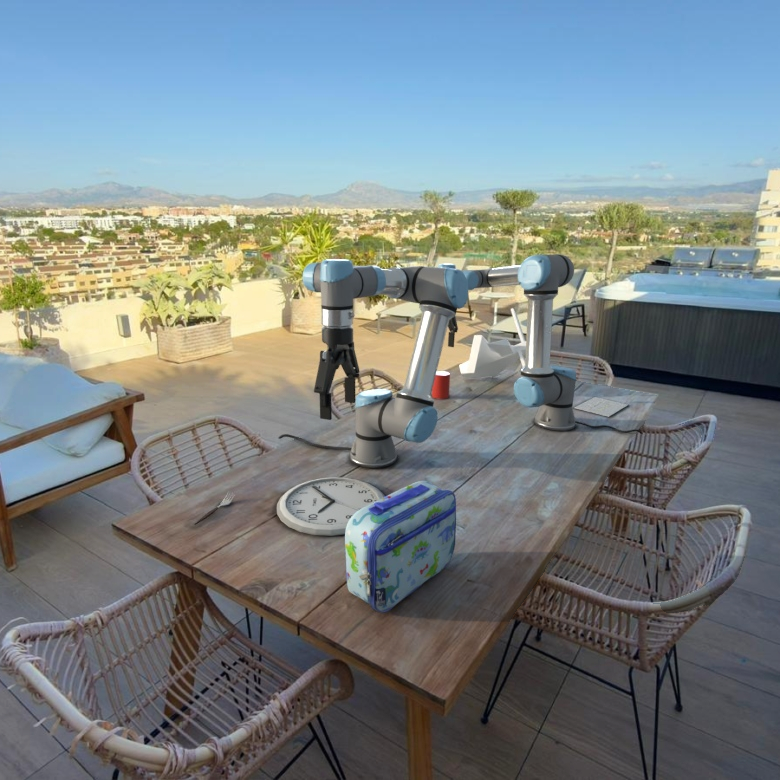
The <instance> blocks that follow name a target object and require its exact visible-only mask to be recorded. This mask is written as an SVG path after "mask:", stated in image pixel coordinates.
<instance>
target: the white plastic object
mask: <svg viewBox="0 0 780 780" xmlns="http://www.w3.org/2000/svg"><path fill="white" fill-rule="evenodd" d="M510 312H511V316H512V319H513V321H514V325H515V328H516V330H517V334H518V337H519V340H520V342H519V343H517V344H515V345H513V344H511V342H510V341H509V340H508V338H504V339H500V340H495V341H491V342H490V341H488V340H487V338H485V337H484V335H482V334H474V335H473V340H472V342H471V343H472V344H471V348H470V353H469V358H468V360H467V361H465V362H463V363H460V364H459V365H458V367H459V371H460V374H461V376H462V377H463V379H464V380H469V379H479V378H487V377H491V378H492V379H493V378H496V377H498V376H501V375H502V374H501V373H502V372H503V371H505V370H506V369H508V368H509V367H510V366H512V365H514V364H515V363H517V362H518V361H519V360H520V363H521V366H522V368H523V367H524V366H525V361H526V337H525V335H524V332H523V329H522V327H521V322H520V321H519V318H518V314H517V312H516V311H515V309H514V307H512V308H510Z"/></svg>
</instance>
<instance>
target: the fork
mask: <svg viewBox="0 0 780 780" xmlns="http://www.w3.org/2000/svg"><path fill="white" fill-rule="evenodd" d="M236 494H237V491H233V492H232V490H230V491H228V492H227V494H226V496H225V497H224V498H223V500H222V501H221V502H220V504H219V505H217V506H216V507H215V508H213V509H211V510H209V511H208V512H207V513H205V514H204V515H203V516H202V517H200V519H198V520H197V521H196V522H195V523H194V524H193V525H194V526H196V525H199V524H200V523H201V522H202V521H204V520H206V519H207V518H209V517H210V516H212V515H213V514H214V513H216V511H218V509H219V508H220V507H226V506H229V505H230V504H231V503H232V501H233V500H234V497H235V496H236Z"/></svg>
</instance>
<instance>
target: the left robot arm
mask: <svg viewBox="0 0 780 780" xmlns="http://www.w3.org/2000/svg"><path fill="white" fill-rule="evenodd" d="M461 270H462V269H458V268H456V269H452V268H449V267H448V268H439V267H438V266H424V265H423V266H422V265H419V266H418V265H417V266H416V265H415V266H403V267H401V266H399V267H397V266H393V267H392V266H391V267H389V268H387V269H384V268H381V267H380V266H377V265H369V264H366V265H354V263H353V261H352V260H351V259H345V258H328V259H327V258H326V259H324V260H322V261H321V262H310V263H308V264H307V265H306V266H305V267H304V269H303V271H302V283H303V286H304V287H305V288H306V289H307V290H308V291H310V292H315V293H320V303H321V304H320V307H321V308H320V313H321V315H320V316H321V318H320V320H321V322H320V323H321V325H322V328H321V342H322V343H323V344H325V345H326V350H320V352H319V362H318V368H317V372H316V379H315V383H314V388H313V393H314V394H319V419H322V420H328V421H332V419H333V418H332V416H333V415H332V414H333V412H332V411H333V410H332V407H333V406H332V393H331V392H330V391H331V387H332V385H333V381H334V378H335V375H336V372H337V370H339V369H340V366H341V368H342V370H343V372H344V374H345V377H344V402H345V403H349V404H355V405H354V412H355V413H354V414H355V415H354V416H355V417H354V419H355V421H354V423H355V437H354V441H353V443H352V447H349V446H333V445H324V444H318V443H313V442H310V441H307V440H306V439H304V438H302V437H300V438H299V436H296V435H292V434H288V433H284V434H281V435H279V436H278V439H279V440H281V439H282V438H290V439H294V440H298V441H300V442H302V443H304V444H306V445H308V446H311V447H315V448H320V449H327V450H340V451H350V452H349V460H350V462H351V463H352V464H353V465H355V466H357V467H361V468H366V469H381V468H386V467H389V466H392V465H393V464H394V463H396V462H397V459H398V458H397V457H398V455H397V450H396V447H395V443H394V441H393V438H392V437H394V438H397V439H401V440H405V442H412V443H417V444H419V443H423V442H425V441H428V439H429V438H430V437H431V436H432V434H433V433H434V431H435V429H436V426H437V423H438V418H439V417H438V411H437V409H436V408H435V407H434V404H435V401H434V398H433V397H432V388H433V384H434V380H435V376H436V372H437V371H438V367H439V363H440V359H441V355H442V352H443V347H444V343H445V339H446V335H447V332H448V331H447V330H448V323H449V320H450V319H451V318H453V317H454V316H455V317H456V316H457V311H458V310H461V309H463V308H464V307H465V306H466V305H467V303H468V298H469V290H468V283H467V279H466V276H465V275H464V273H463V272H462V271H461ZM375 296H386V297H387V298H389V299H392V300H394V299H396V300H402V301H406V302H410V303H412V304H413V303H414V304H419V305H418V308H419V310H420V312H421V316H420V320H419V324H418V329H417V333H416V337H415V340H414V346H413V349H412V353H411V357H410V361H409V365H408V369H407V373H406V377H405V380H404V385H403V388H402V389H400V390H399V391H397V392H396V397H393V396H394V394H393V392H392V391H391V390H390V389H387V388H374V389H368V390H363V391H361V392H359V393H358V394H357V395H356V379H358V378H360V367H359V363H358V360H357V359H358V358H357V354H356V351H355V342H354V327H353V326H352V325H353V324H354V317H355V313H354V300H355V299H361V298H371V297H372V298H373V297H375Z"/></svg>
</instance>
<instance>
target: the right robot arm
mask: <svg viewBox="0 0 780 780" xmlns="http://www.w3.org/2000/svg"><path fill="white" fill-rule="evenodd" d="M437 267H439V268H448V267H449V268H452V269H457V267H456V264H454V263H439V264H438V265H437ZM460 270H461V271H462V272H463V273H464V275H465V276H466V279H467V283H468V291H473V290H474V289H484V288H485V289H486V288H494V287H495V288H497V287H507V286H508V287H509V286H520V287H521V288H523V296H525V298H526V299H527V311H526V312H527V313H526V314H527V315H526V337H525V341H526V355H525V360H526V361H525V366H524V367H523V366H522V368H521V369H520V377H518V379H516V381H514V384H513V393H514V396H515V398H516V400H517V401H518V402H519V403H520V404H521V405H522V406H524V407H526V408H538V410H537V411H536V413H535V416H534V424H535V425H536V426H537V427H539V428H542V429H544V430H549V431H556V432H567V431H572V430H574V429H575V428H576V424H578V425H581V426H584V427H587V428H590V429H591V428H592V429H600V428H607V429H611V430H613V431H616V432H618V433H622V434H628V433H629V434H630V433H634V432H637V433H639V434H640V435H643V434H644V433H643V432H642V431H641V430H640V429H636V428H635V429H629V430H622V429H619V428H616V427H614V426H611V425H607V424H602V425H601V424H600V425H590V424H587V423H585V422H581V421H579V420H578V421H577V420H576V418H575V417H576V416H575V413H574V407H573V405H574V398H575V391H576V383H577V372H576V371H575V369H573V368H571V367H570V368H569V367H566V366H561V365H551V350H552V349H551V348H552V347H551V346H552V326H553V311H554V308H553V307H554V299H555V298H556V297H557V296H558V295H559V288H562V287H564V286H566V285H568V284H569V283H570V282H571V280H572V279H573V277H574V274H575V266H574V262H573V261H572V260H571V259H570V258H569V256H566V255H565V254H559V253H557V254H556V253H555V254H535V255H531V256H528V257H527V258H525V259H524V260H523V261H522V262H521V264H520V265H511V266H510V265H509V266H502V267H493V268H485V269H483V268H482V269H465V270H464V269H460ZM456 317H457V316H456V315H455V316H454V317H453V318H451V319H450V320H449V323H448V327H447V329H448V337H447V347H448V348H454V347H455V336H456V334H457V333H458V330H459V327H458V321H457V318H456Z"/></svg>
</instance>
